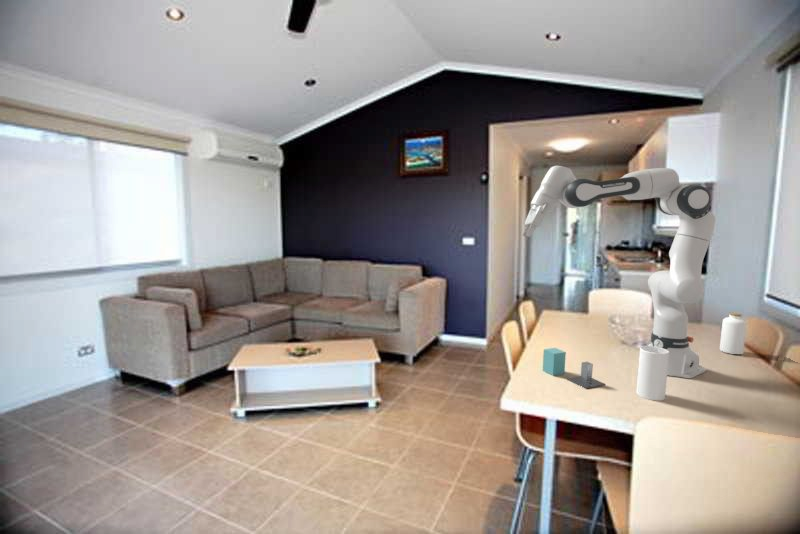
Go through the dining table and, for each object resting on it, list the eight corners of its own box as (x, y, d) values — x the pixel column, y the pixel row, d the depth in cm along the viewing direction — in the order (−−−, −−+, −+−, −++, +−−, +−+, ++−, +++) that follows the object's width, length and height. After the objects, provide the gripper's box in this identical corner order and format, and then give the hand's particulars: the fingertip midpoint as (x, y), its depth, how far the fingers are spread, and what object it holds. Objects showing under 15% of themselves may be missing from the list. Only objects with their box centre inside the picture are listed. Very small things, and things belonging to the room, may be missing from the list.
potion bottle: (723, 354, 181) (727, 314, 179) (716, 348, 189) (720, 310, 187) (746, 356, 178) (751, 316, 176) (738, 351, 186) (743, 312, 184)
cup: (669, 401, 133) (673, 354, 131) (641, 399, 135) (645, 352, 133) (658, 391, 141) (662, 346, 139) (632, 389, 143) (636, 344, 141)
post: (585, 376, 154) (586, 357, 153) (605, 385, 146) (606, 365, 145) (567, 379, 151) (568, 360, 150) (586, 389, 142) (587, 369, 141)
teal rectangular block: (553, 368, 161) (555, 347, 160) (564, 373, 156) (565, 352, 155) (542, 370, 159) (543, 349, 158) (552, 375, 154) (554, 353, 153)
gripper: (556, 205, 149) (537, 239, 151) (545, 209, 169) (529, 239, 171) (540, 198, 150) (522, 232, 152) (531, 203, 170) (515, 233, 172)
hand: (526, 236), depth 161 cm, fingers open, 8 cm apart
